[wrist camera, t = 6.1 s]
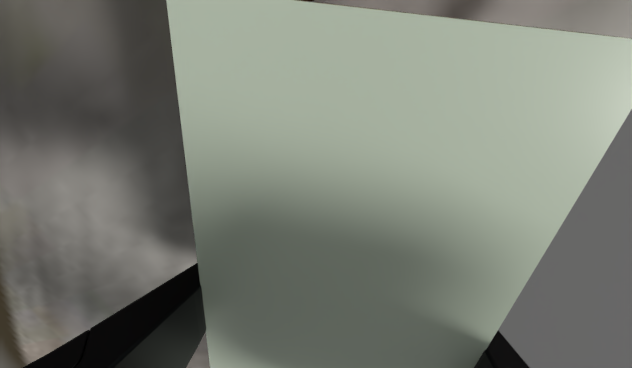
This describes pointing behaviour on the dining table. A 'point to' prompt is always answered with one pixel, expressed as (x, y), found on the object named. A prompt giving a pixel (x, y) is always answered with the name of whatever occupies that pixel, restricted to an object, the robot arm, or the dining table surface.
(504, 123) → the sage lid
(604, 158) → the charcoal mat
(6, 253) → the dining table surface
